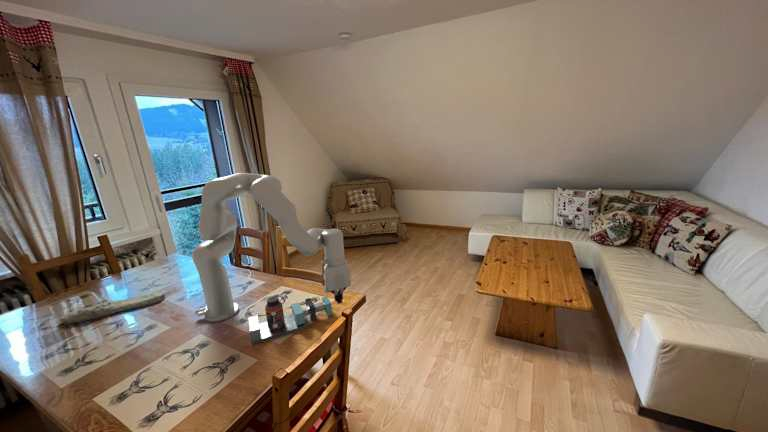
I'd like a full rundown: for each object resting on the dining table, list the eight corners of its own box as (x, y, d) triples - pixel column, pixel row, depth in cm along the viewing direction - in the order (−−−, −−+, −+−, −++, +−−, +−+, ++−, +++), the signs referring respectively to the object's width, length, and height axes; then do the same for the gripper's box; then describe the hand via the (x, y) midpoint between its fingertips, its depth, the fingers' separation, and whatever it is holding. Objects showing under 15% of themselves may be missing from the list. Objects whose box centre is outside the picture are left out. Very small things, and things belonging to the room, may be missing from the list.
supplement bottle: (279, 331, 108) (275, 304, 105) (265, 330, 109) (260, 303, 106) (288, 321, 114) (284, 295, 110) (273, 320, 115) (269, 294, 112)
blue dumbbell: (296, 326, 110) (295, 314, 109) (292, 315, 117) (291, 304, 116) (333, 315, 116) (331, 304, 115) (327, 305, 123) (326, 294, 122)
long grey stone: (164, 306, 133) (167, 297, 142) (162, 295, 132) (165, 287, 141) (55, 329, 117) (66, 317, 125) (52, 317, 116) (63, 306, 124)
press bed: (252, 345, 103) (249, 328, 101) (250, 329, 112) (247, 313, 110) (317, 325, 113) (315, 309, 111) (311, 311, 122) (309, 296, 120)
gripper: (318, 268, 109) (323, 312, 114) (356, 259, 115) (359, 301, 121) (313, 261, 116) (318, 302, 121) (349, 253, 122) (353, 292, 127)
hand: (339, 301), depth 121 cm, fingers closed
